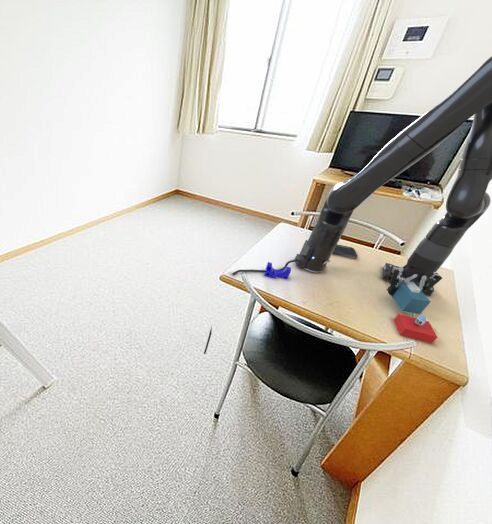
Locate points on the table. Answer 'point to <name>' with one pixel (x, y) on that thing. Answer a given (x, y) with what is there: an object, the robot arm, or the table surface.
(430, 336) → the red rectangular block
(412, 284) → the tissue box
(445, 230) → the robot arm
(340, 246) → the phone
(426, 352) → the table surface
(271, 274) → the cable holder
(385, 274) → the disk drive
